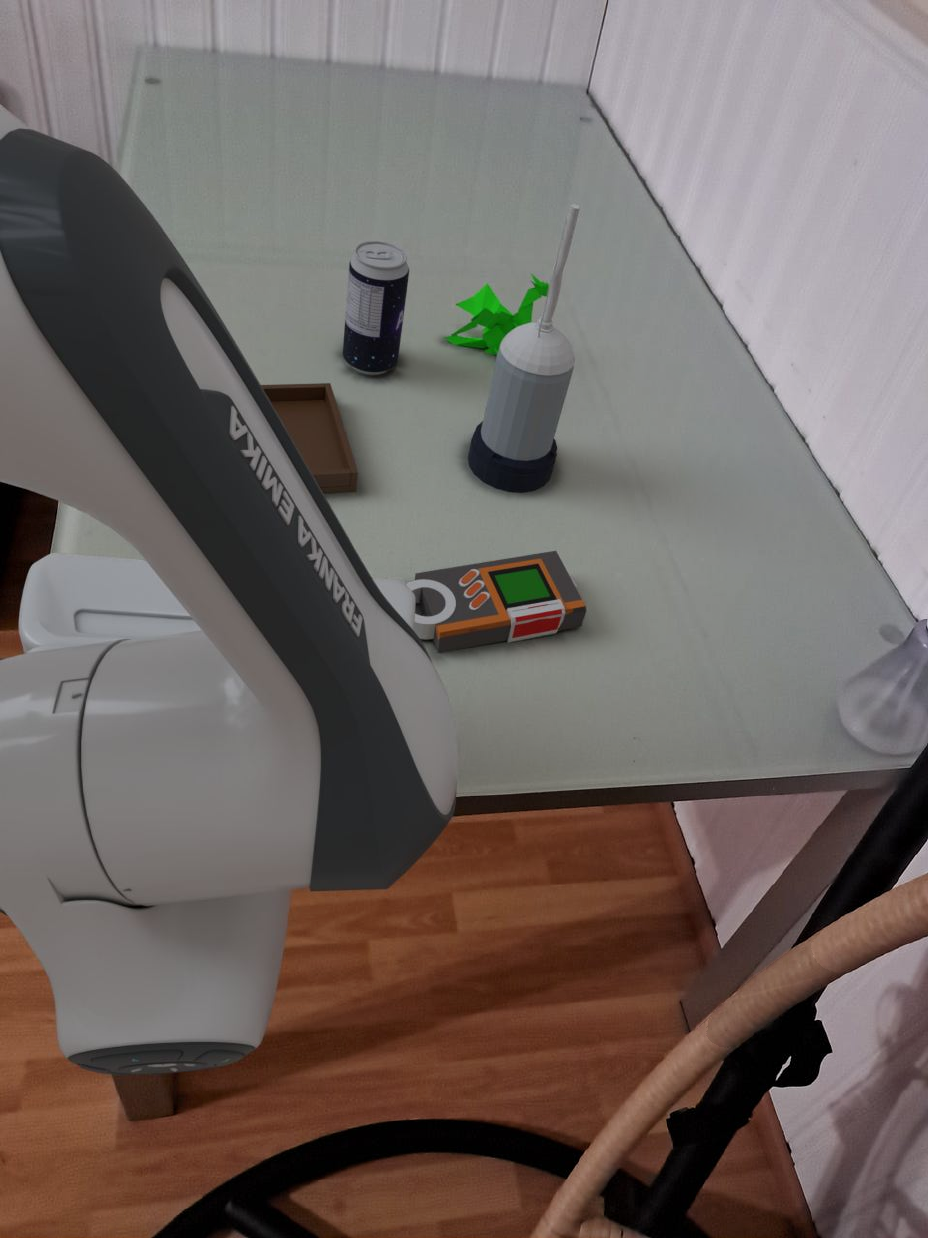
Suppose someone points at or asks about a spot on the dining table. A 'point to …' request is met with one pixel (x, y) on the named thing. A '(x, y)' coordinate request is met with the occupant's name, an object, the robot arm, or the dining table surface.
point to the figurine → (495, 316)
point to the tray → (316, 433)
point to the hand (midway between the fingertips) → (240, 526)
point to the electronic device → (496, 601)
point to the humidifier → (526, 396)
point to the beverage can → (375, 307)
